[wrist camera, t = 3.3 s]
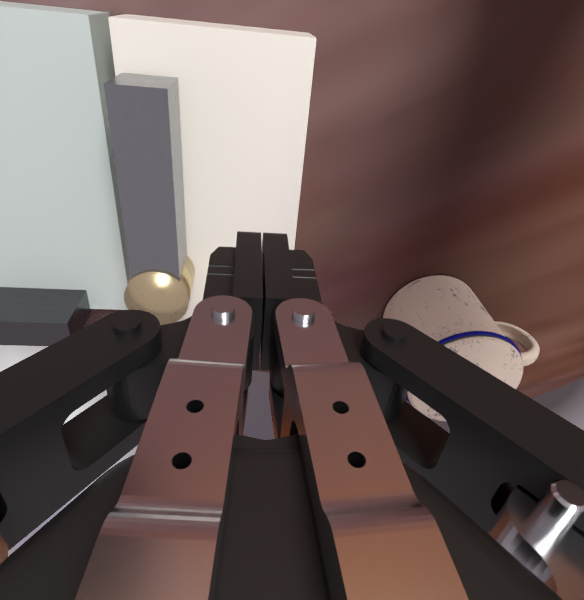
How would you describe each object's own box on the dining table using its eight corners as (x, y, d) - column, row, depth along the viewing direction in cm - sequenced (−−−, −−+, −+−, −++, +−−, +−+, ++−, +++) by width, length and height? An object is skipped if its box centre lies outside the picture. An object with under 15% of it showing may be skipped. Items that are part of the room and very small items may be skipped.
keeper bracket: (-1, 286, 31) (-31, 320, 28) (86, 290, 32) (66, 323, 29) (7, 309, 33) (-21, 344, 29) (90, 311, 33) (72, 346, 30)
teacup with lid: (375, 352, 43) (408, 453, 34) (383, 273, 38) (426, 367, 28) (494, 344, 44) (560, 442, 34) (519, 265, 38) (605, 355, 29)
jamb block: (126, 14, 26) (108, 16, 23) (309, 32, 27) (316, 38, 24) (155, 292, 37) (145, 320, 34) (283, 297, 39) (286, 325, 35)
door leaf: (-131, -13, 25) (-191, -14, 21) (109, 12, 26) (88, 14, 23) (-24, 275, 35) (-52, 303, 32) (142, 282, 37) (131, 310, 33)
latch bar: (196, 294, 32) (189, 326, 29) (140, 292, 32) (128, 324, 29) (187, 78, 24) (177, 90, 21) (112, 71, 24) (90, 83, 21)
